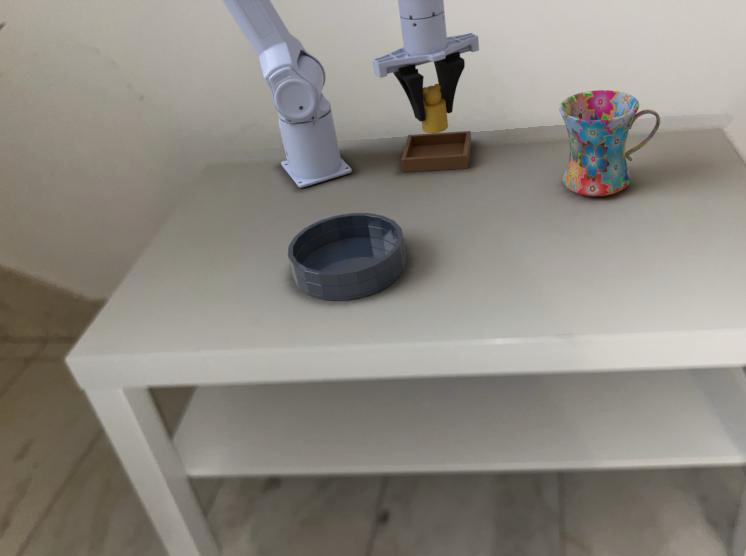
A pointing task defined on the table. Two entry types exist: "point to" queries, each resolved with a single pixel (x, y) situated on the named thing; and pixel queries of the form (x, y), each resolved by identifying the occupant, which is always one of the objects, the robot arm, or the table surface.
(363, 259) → the bowl
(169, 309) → the table surface
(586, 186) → the mug
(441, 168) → the tray
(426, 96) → the toy
